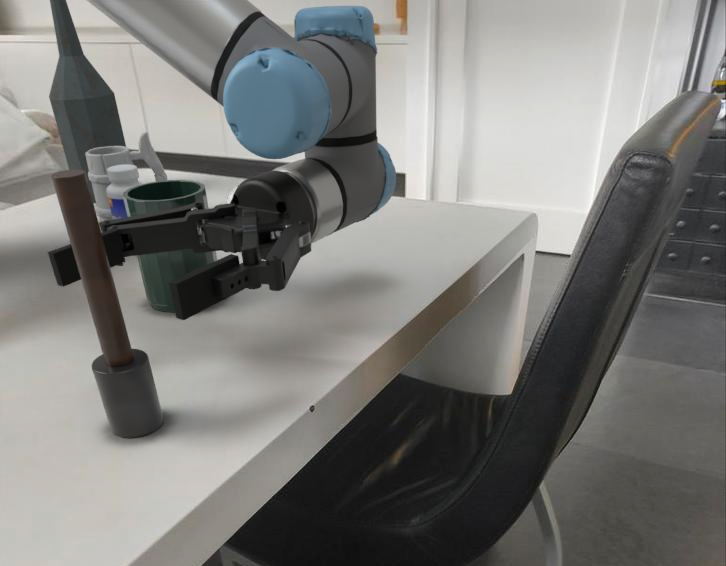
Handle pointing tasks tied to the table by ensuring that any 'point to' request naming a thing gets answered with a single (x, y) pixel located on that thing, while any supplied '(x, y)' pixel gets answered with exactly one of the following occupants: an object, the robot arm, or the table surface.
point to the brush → (107, 317)
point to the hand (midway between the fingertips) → (111, 284)
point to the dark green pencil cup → (172, 263)
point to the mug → (111, 157)
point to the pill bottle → (120, 187)
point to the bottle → (80, 98)
